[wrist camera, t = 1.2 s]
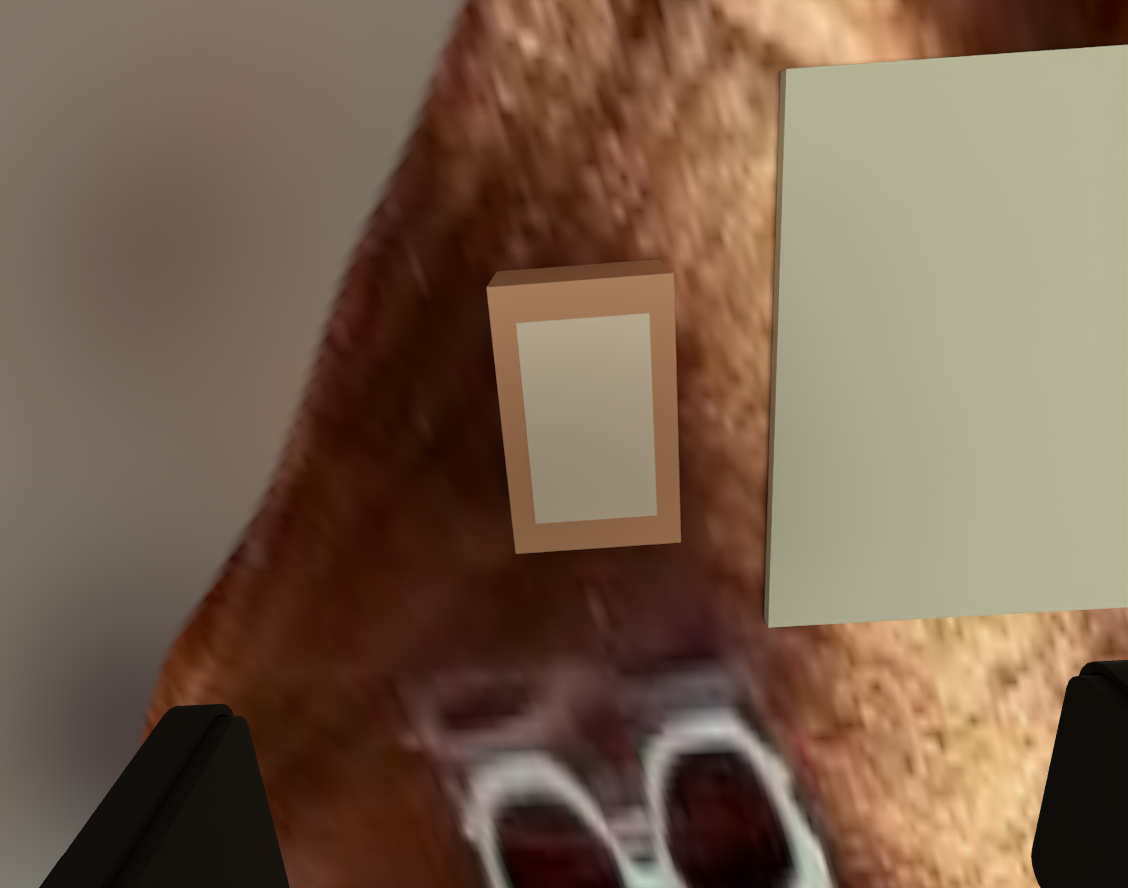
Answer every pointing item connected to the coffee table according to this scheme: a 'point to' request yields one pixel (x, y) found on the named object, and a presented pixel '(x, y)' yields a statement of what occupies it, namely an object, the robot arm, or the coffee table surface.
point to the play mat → (950, 339)
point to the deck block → (588, 404)
